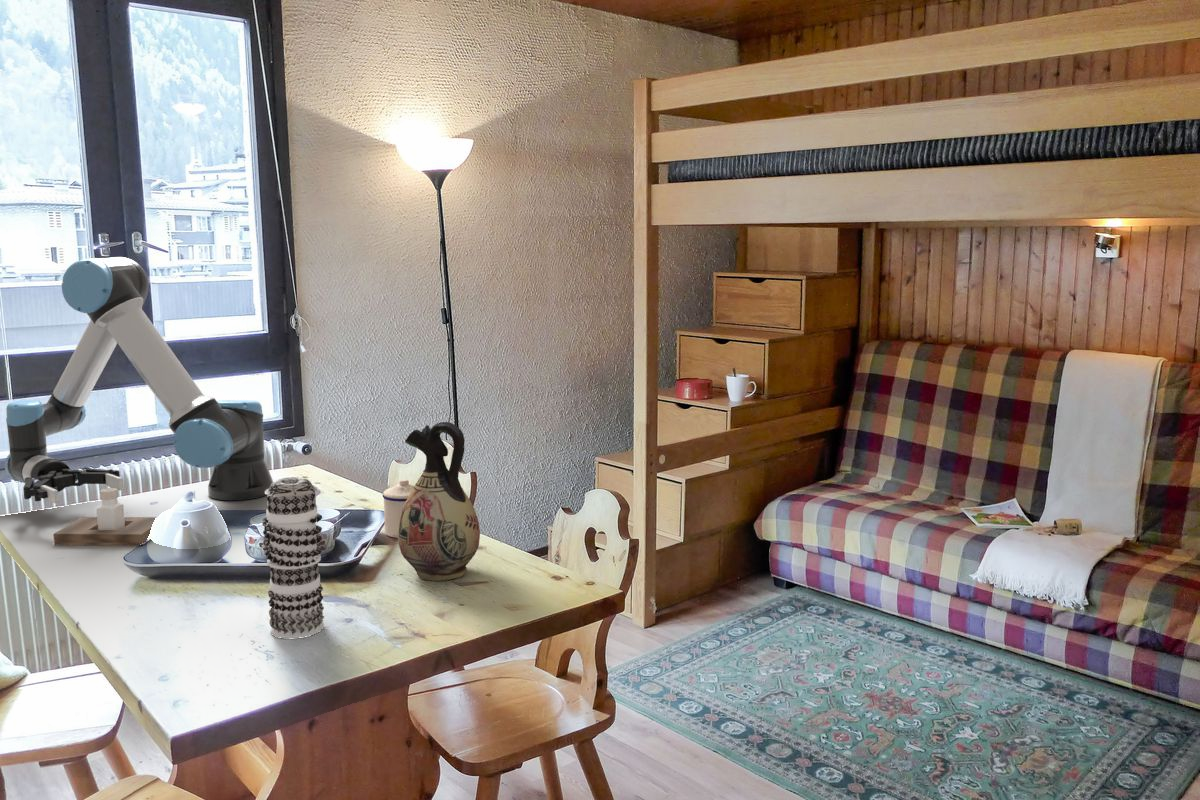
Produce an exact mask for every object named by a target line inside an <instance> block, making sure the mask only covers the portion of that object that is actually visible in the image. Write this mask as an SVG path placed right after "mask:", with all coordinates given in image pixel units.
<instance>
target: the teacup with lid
mask: <svg viewBox="0 0 1200 800" xmlns="http://www.w3.org/2000/svg"><path fill="white" fill-rule="evenodd" d="M414 485H415V484H412V483H410V481H409V480H408V479H407V478H403V479H399V482H398V483H397V484H395V485H394V486H392V487H389V488H387V489H385V490H384V491H383V493H382V498H383V510H384V511H383V513H384V515H383V517H384V533H385V535H387V536H388V537H391V538H394V539H395V538H396V539H398V528H399V522H400V517H401V513H402V510H403V507H404V505H405V502H406V500H407V499H408V497H409V495H410V493H411V491H412V489H413V488H414Z"/></svg>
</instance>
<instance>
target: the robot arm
mask: <svg viewBox="0 0 1200 800" xmlns="http://www.w3.org/2000/svg"><path fill="white" fill-rule="evenodd" d="M149 284H150V283H149V277H148V274H147V272H146V271H145V269H144V268H143V267H142V266H141V265H140V264H139V263H138V262H136V261H135V260H133V259H131V258H127V257H125V256H124V257H123V256H113V257H99V258H97V257H89V258H84V259H80V260H77V261H75V262H74V263H72V264H70V265H69V266H68V267H67V269H66V270H65V271H64V273H63V276H62V283H61V293H62V296H63V298H64V301H65V302H66V303H67V304H68V306H69V307H70V308H72V309H73V310H75V311H76V312H79V313H82V314H83V313H84V314H86V315H87V316H88V317H89V319H90V321H89V323H88V325H86V326H87V327H86V328H85V330H84V332H83V333H82V336H81V338H80V340H79V342H78V344H77V345H76V348H75V350H74V351H73V353H72V355H71V357H70V358H69V361H68V362H67V365H66V367H65V369H64V371H63V372H62V374H61V376H60V377H59V380H58V382H57V384H56V385H55V387H54V389H53V392H52V393H51V395H50V397H49V399H48V400H47V402H46V403H42V402H41V401H40V400H36V399H23V400H17V401H12V402H9V403H8V404H7V405H6V408H5V409H6V417H5V418H6V421H5V422H6V428H7V435H8V446H9V454H8V455H7V457H6V458H5V461H4V469H5V472H6V473H7V475H9V476H10V477H11V478H12V479H14V481H16V482H19V483H23V484H24V486H23V488H22V489H23V499H24V500H30V499H32V497H34V502H40V501H42V499H44V500H45V501H48V502H50V503H53V504H59V493H60V492H62V491H63V490H64V489H66V488H69V487H81V486H83V485H106V486H107V487H108V488H116V489H117V491H121V492H122V491H124V484H123V482H124V481H123V477H121V474H120V470H115V469H113V468H111V469H110V468H109V469H103V468H102V469H101V468H92V467H83V468H82V470H81V469H71V468H70V466H68V465H67V463H65V462H64V461H61V460H59V459H56V458H53V457H50V456H48V451H47V437H48V436H52V435H54V434H57V433H61V432H64V431H68V430H71V429H74V428H75V427H78V426H79V425H80V424H83V422H84V421H85V418H86V408H85V404H86V403H87V400H88V399H89V396H90V395H91V393H92V391H93V389H94V388H95V385H96V384H97V382H98V380H99V379H100V377H101V374H102V373H103V370H104V369H105V367H106V366H107V364H108V361H109V360H110V358H111V356H112V355H113V352H114V350H115V348H116V346H117V345H118V347H120V349H121V350H122V352H123V353H124V355H125V356H126V358H128V361H130V363H131V364H132V366H133V367H134V368H135V369H136V371H137V372H138V374H139V375H140V377H141V378H142V379H143V380H144V382H145V384H146V385H147V386H148V388H149V389H150V391H151V392H152V393H153V394H154V396H155V397H156V398H157V400H158V401H159V403H160V404H161V405H162V407H163V408H164V409H165V411H166V412H167V414H168V415H169V421H168V427H169V428H170V430H171V431H172V433H173V439H174V440H173V448H174V450H175V452H176V454H177V456H178V457H179V458H180V460H182V461H183V462H184V463H186V464H188V465H189V466H191V467H194V468H199V469H207V468H212V470H211V475H210V478H209V481H208V487H207V493H208V496H209V498H212V499H215V500H220V501H243V500H244V501H245V500H250V499H251V500H252V499H258V498H262V497H265V496H267V494H265V490H267V489H269V488H270V486H271V484H272V483H273V482H274V480H273V477H272V475H271V472H270V469H269V468H268V465H267V462H266V460H265V457H266V455H265V440H264V439H265V438H264V435H265V434H264V413H263V409H262V408H263V407H262V404H261V403H260V402H259V401H256V400H247V399H246V400H245V399H243V400H242V399H241V400H239V399H237V400H235V399H233V400H232V399H231V400H230V399H228V400H227V399H225V400H216V398H215V397H212V396H207V395H205V394H204V393H203V392H202V391H201V389H200V388H199V386H198V385H197V384H196V383H195V381H194V380H193V378H192V377H191V376H190V374H189V373H188V371H187V370H186V369H185V367H184V366H183V364H182V363H181V362H180V360H179V359H178V358H177V356H176V354H175V353H174V352H173V350H172V349H171V347H170V346H169V345H168V343H167V342H166V341H165V339H164V338H163V336H162V335H161V334H160V332H159V331H158V329H157V328H156V326H155V325H154V324H153V323H152V321H151V320H150V319H149V317H148V315H147V314H146V312H145V311H144V310H143V306H144V304H145V302H146V299H147V298H148V293H149V287H150V286H149Z"/></svg>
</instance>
